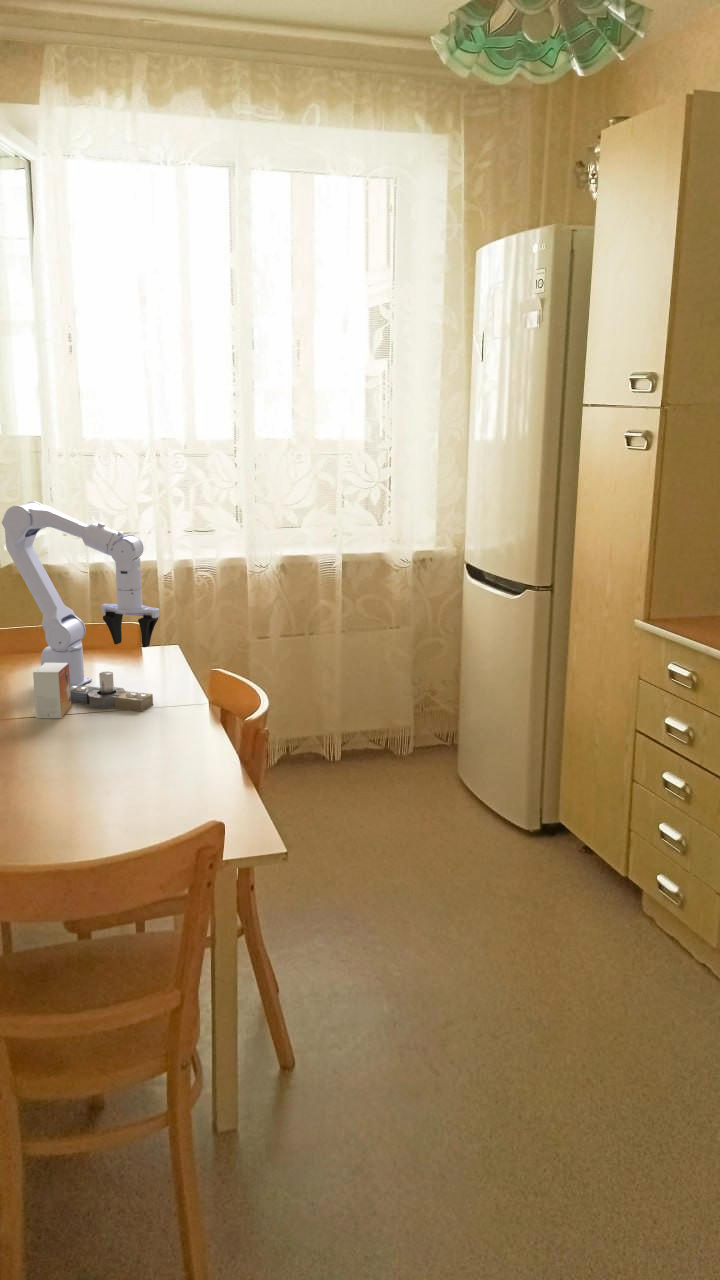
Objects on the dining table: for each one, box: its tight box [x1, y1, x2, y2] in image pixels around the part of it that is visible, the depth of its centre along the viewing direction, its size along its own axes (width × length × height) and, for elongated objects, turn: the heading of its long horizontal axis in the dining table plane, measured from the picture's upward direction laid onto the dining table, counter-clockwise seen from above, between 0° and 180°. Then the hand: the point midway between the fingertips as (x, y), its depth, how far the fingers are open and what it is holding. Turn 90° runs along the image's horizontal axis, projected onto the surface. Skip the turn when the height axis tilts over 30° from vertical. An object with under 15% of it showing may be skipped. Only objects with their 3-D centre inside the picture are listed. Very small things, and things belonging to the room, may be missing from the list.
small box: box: [32, 663, 72, 719], centre depth 222 cm, size 8×6×10 cm
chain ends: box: [70, 685, 154, 713], centre depth 230 cm, size 21×8×3 cm, turn 71°
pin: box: [98, 671, 115, 695], centre depth 230 cm, size 3×3×7 cm
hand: (131, 644), depth 240 cm, fingers open, 7 cm apart
